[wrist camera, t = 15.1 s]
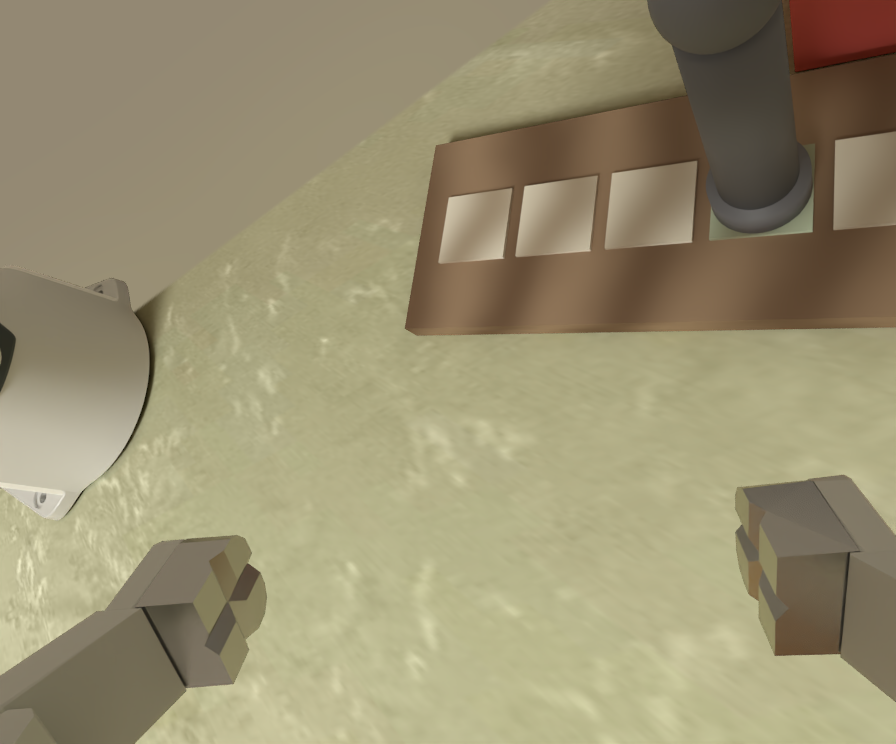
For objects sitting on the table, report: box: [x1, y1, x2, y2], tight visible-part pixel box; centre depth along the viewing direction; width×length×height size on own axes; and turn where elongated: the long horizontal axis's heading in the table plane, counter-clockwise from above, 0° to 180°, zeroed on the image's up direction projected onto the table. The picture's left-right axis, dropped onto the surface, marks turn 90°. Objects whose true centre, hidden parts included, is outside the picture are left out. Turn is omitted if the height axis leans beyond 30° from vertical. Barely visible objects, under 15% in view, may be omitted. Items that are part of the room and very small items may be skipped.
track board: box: [405, 54, 896, 335], centre depth 29 cm, size 25×11×1 cm, turn 82°
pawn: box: [647, 0, 813, 234], centre depth 21 cm, size 4×4×13 cm
